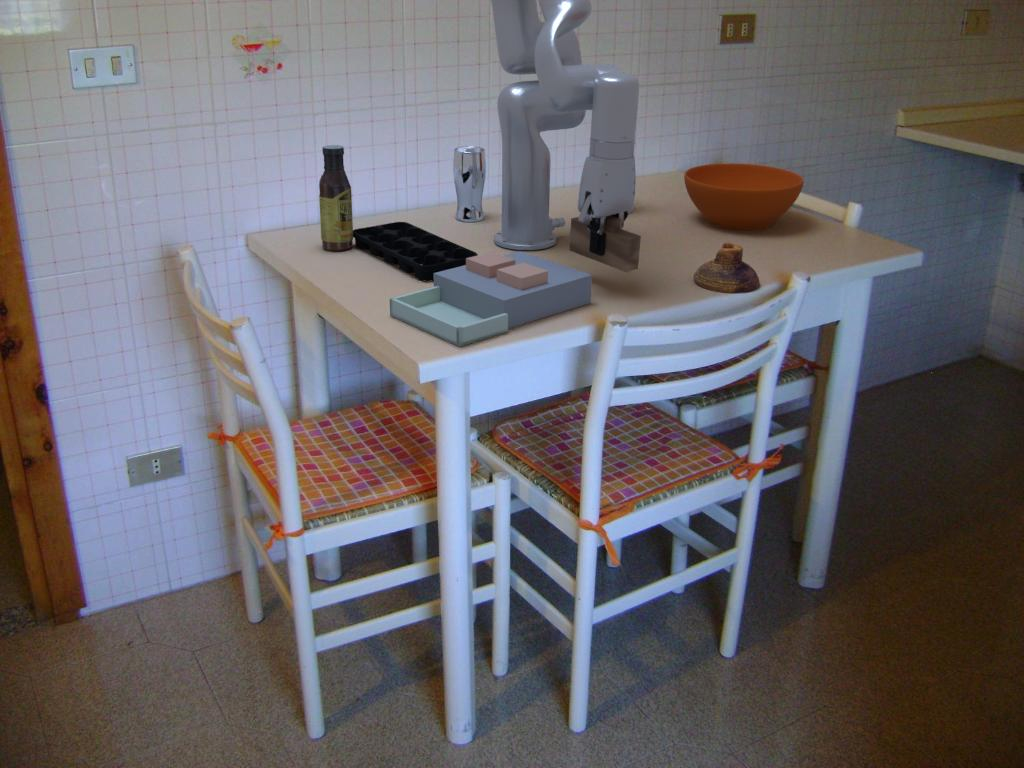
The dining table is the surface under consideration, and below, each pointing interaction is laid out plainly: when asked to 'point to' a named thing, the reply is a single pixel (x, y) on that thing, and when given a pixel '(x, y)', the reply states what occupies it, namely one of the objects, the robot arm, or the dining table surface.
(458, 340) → the tray
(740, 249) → the bell
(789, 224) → the dining table surface
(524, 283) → the tile
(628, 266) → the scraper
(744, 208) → the bowl
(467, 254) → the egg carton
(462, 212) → the beer glass
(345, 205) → the sauce bottle
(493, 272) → the tile
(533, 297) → the board
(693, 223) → the dining table surface
